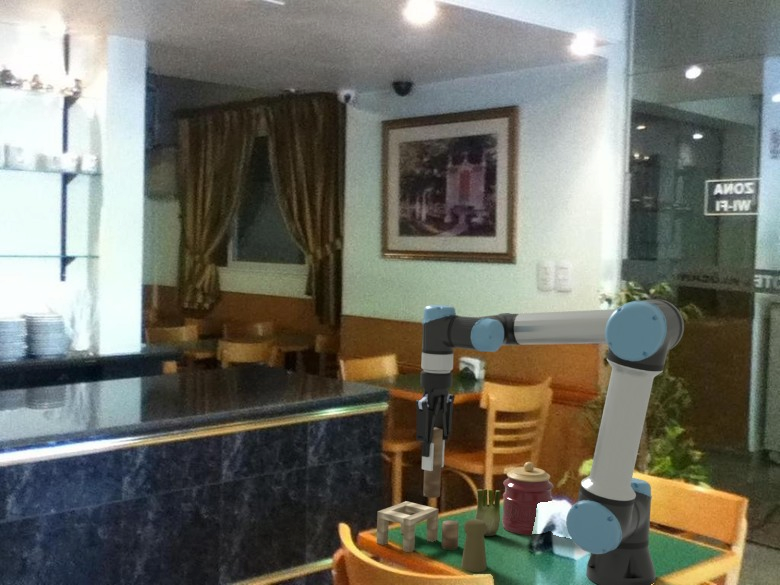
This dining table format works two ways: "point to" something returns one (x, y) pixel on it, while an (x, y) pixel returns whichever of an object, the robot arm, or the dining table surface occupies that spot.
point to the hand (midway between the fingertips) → (432, 467)
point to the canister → (524, 497)
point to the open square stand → (407, 522)
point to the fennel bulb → (489, 510)
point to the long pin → (434, 467)
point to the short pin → (450, 534)
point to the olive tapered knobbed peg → (474, 546)
